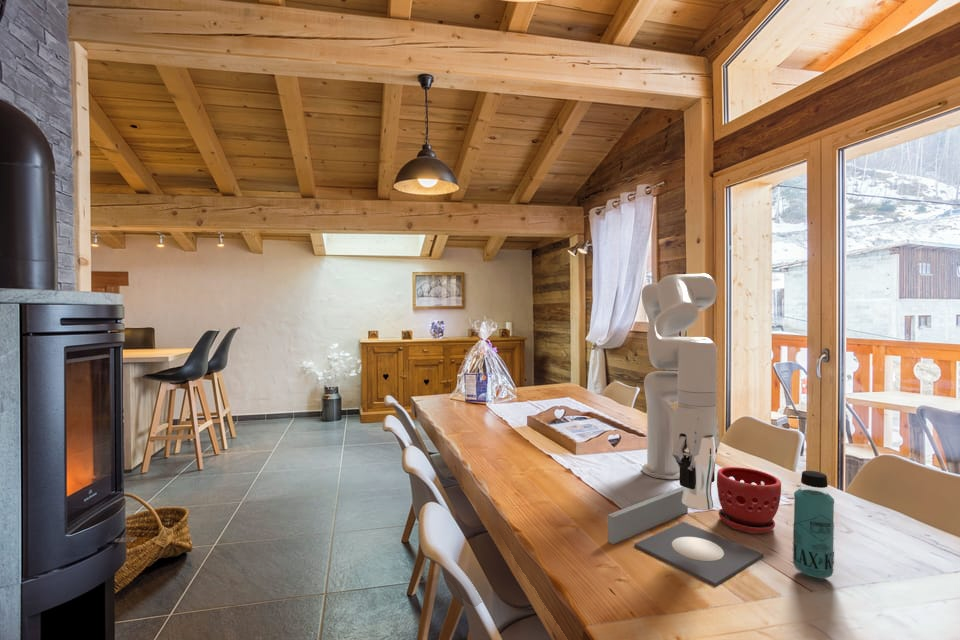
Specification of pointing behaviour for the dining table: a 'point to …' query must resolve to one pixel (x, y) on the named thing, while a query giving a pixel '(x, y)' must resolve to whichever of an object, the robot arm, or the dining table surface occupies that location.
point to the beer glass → (701, 477)
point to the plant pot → (748, 499)
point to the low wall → (645, 515)
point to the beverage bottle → (813, 527)
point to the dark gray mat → (699, 552)
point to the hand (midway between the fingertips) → (697, 482)
